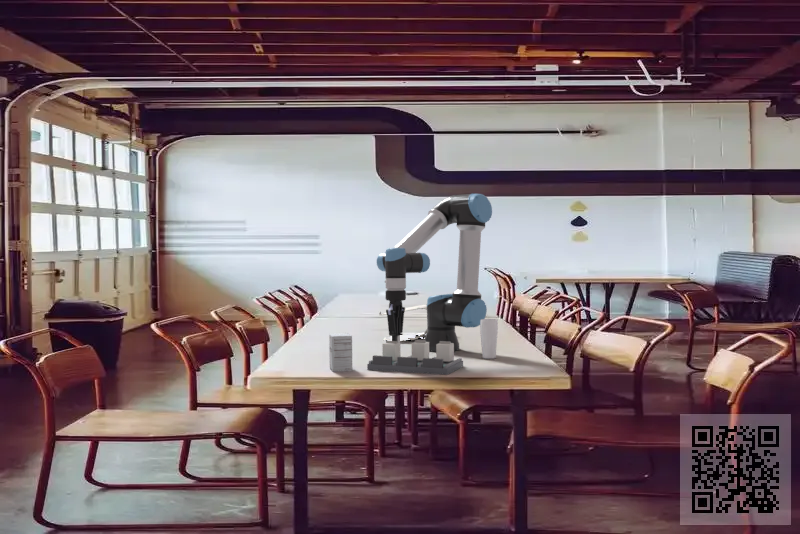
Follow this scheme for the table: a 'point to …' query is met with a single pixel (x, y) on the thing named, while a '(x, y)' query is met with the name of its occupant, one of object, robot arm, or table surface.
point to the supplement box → (340, 352)
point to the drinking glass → (489, 337)
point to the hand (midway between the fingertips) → (395, 353)
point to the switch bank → (414, 365)
